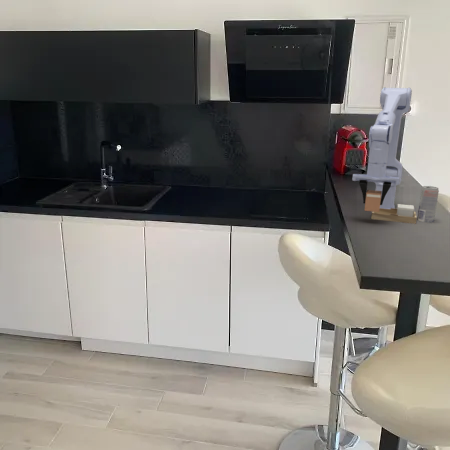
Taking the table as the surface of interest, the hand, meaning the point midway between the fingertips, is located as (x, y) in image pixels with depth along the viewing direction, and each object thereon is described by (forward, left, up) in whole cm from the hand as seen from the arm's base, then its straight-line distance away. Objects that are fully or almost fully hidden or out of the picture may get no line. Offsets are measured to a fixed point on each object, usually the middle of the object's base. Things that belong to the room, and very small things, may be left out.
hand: (372, 203), depth 152 cm
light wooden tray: (-8, +7, -7) cm, 13 cm away
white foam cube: (-8, +11, -6) cm, 15 cm away
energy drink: (-9, +17, -7) cm, 21 cm away
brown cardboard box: (0, 0, -2) cm, 2 cm away
